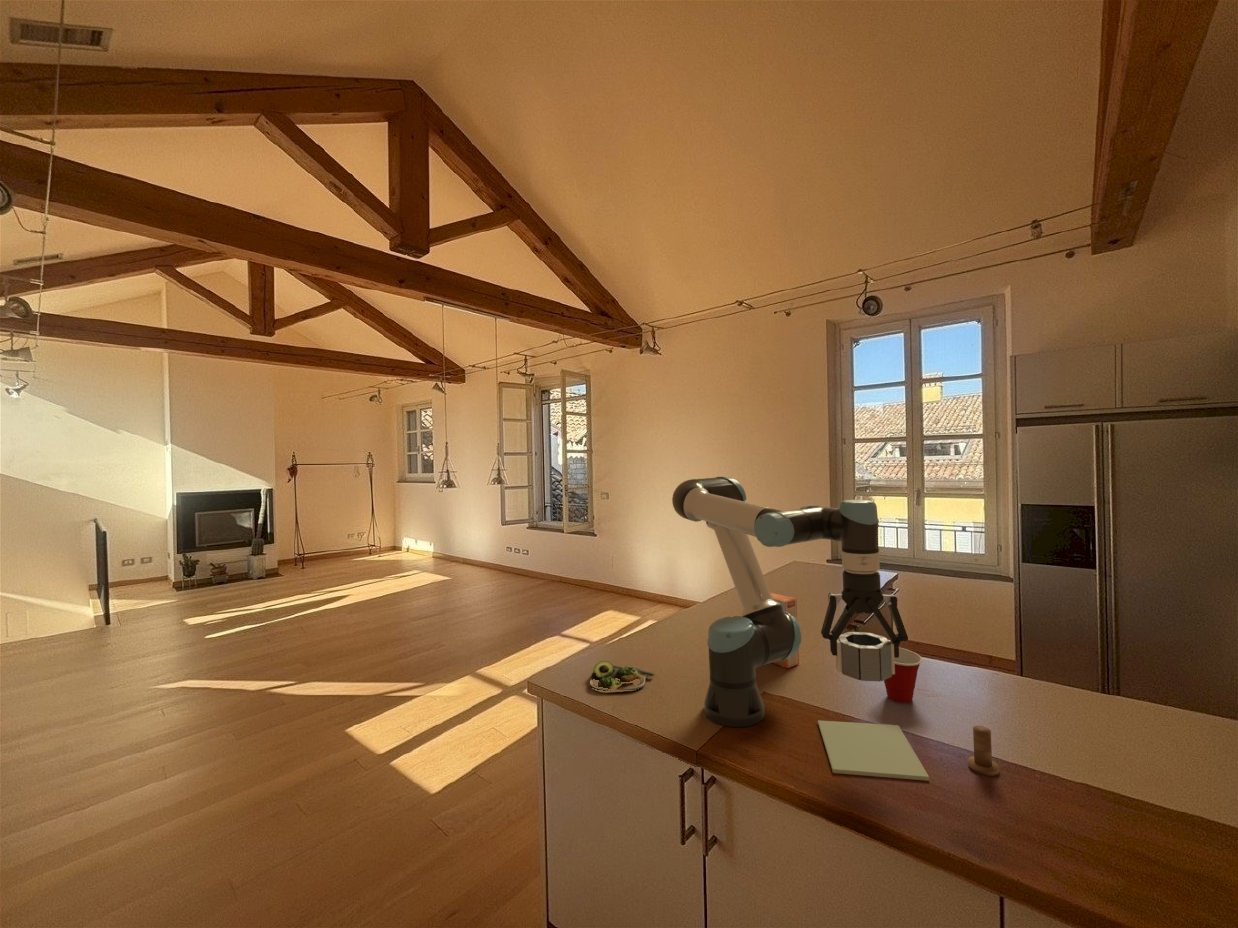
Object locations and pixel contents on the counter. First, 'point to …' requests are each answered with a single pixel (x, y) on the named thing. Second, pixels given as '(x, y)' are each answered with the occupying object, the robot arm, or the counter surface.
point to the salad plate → (617, 676)
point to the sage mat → (870, 750)
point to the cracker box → (791, 607)
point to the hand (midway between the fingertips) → (864, 670)
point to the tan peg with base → (982, 753)
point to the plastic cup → (903, 676)
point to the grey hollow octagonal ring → (865, 656)
